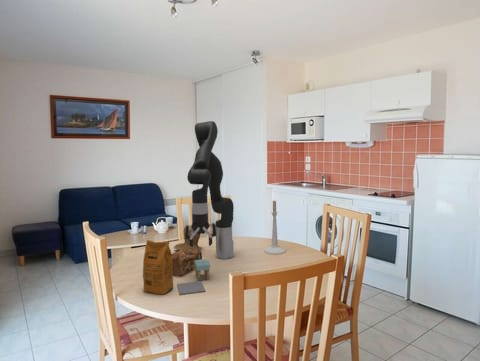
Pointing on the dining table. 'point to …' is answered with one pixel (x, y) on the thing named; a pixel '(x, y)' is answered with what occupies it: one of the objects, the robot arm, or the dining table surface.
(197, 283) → the mat
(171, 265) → the coffee package
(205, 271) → the blue block with pegs
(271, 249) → the candlestick
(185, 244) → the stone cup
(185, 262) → the bread
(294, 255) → the dining table surface
